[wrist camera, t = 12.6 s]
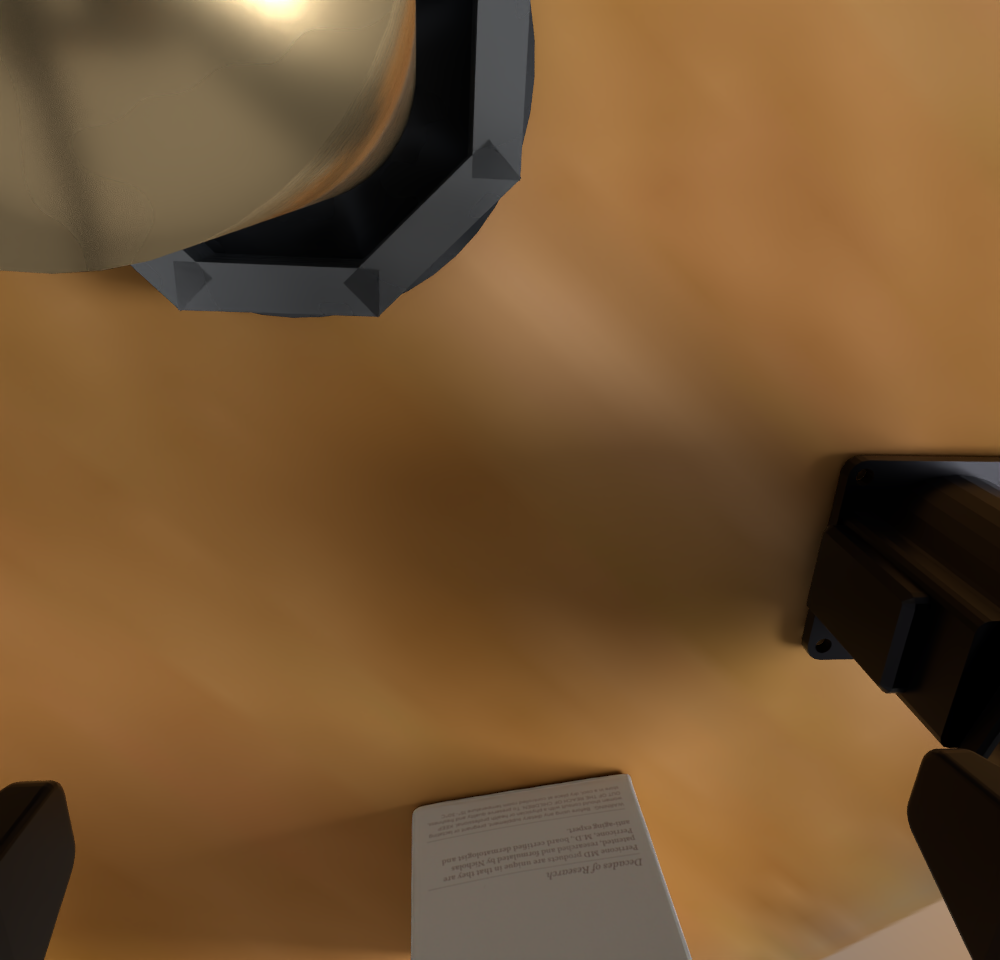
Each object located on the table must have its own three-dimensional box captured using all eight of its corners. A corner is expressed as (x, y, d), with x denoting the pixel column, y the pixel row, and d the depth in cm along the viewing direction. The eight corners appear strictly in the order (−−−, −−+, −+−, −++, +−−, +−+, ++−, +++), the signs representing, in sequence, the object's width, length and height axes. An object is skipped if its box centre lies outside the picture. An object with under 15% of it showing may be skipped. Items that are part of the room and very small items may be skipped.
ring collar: (549, -227, 15) (569, -287, 13) (517, 321, 19) (528, 339, 17) (-36, -294, 14) (-113, -371, 12) (60, 306, 18) (15, 323, 16)
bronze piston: (462, 15, 16) (577, -363, 5) (344, 249, 18) (209, 402, 6) (213, -159, 15) (-532, -1354, 3) (106, 113, 16) (-657, -23, 5)
